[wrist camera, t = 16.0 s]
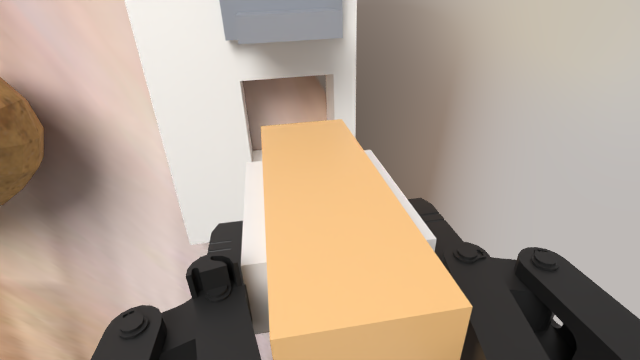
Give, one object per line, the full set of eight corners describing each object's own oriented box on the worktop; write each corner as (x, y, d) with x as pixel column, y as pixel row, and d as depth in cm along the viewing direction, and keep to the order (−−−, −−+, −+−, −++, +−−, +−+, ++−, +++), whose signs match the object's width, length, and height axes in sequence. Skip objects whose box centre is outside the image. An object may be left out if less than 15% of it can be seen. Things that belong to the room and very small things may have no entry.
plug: (342, 188, 19) (446, 419, 9) (269, 197, 19) (287, 451, 8) (341, 118, 17) (472, 306, 7) (261, 126, 17) (269, 339, 6)
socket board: (346, 204, 31) (354, 223, 29) (195, 222, 30) (190, 244, 27) (345, -32, 23) (357, -35, 20) (134, -24, 21) (117, -27, 18)
